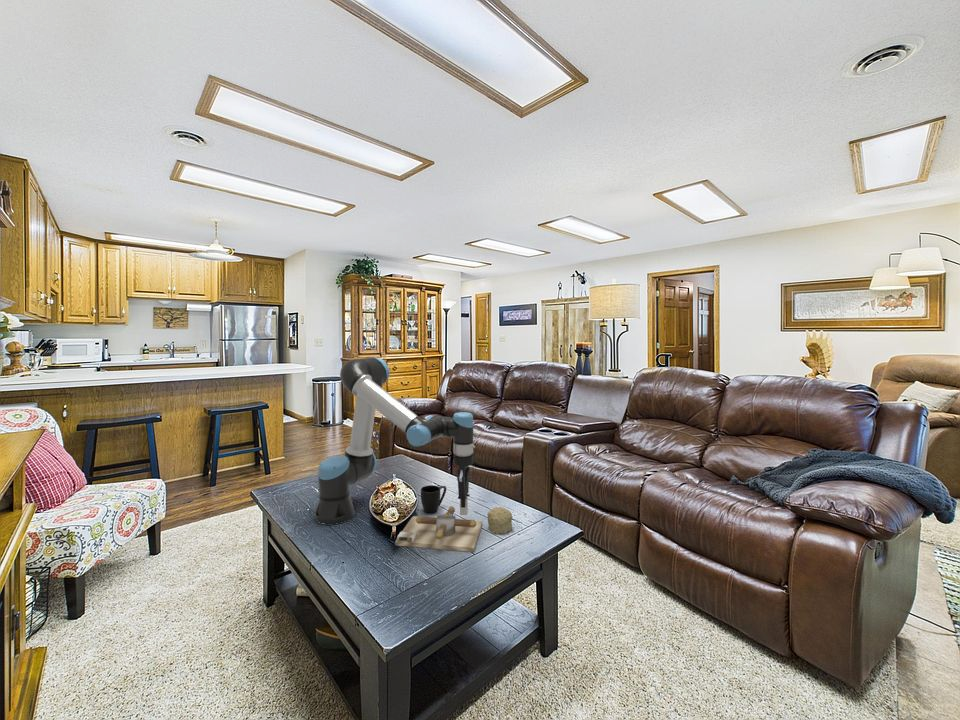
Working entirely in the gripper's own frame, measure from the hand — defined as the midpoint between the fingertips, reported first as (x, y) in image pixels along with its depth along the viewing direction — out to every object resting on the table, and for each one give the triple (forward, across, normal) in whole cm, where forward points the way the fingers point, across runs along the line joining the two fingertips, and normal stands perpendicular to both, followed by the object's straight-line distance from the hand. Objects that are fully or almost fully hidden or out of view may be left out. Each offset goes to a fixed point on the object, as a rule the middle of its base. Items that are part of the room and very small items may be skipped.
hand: (463, 514), depth 158 cm
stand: (+5, -7, +7) cm, 11 cm away
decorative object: (+6, +2, -14) cm, 15 cm away
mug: (+5, +14, +15) cm, 21 cm away
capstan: (+4, -7, +5) cm, 10 cm away
